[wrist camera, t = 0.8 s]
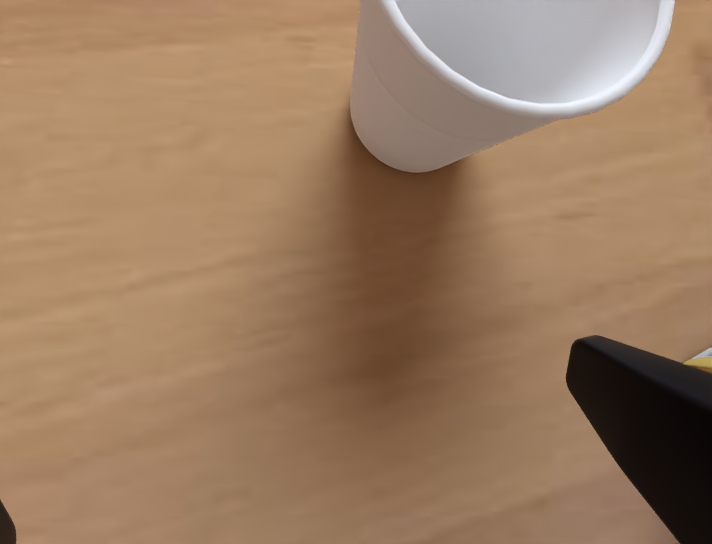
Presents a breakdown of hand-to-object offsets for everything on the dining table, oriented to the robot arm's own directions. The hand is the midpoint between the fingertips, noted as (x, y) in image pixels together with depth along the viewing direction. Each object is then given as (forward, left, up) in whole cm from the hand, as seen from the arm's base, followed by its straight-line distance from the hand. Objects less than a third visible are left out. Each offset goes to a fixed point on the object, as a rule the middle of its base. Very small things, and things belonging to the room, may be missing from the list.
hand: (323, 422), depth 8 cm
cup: (+6, -12, -15) cm, 20 cm away
